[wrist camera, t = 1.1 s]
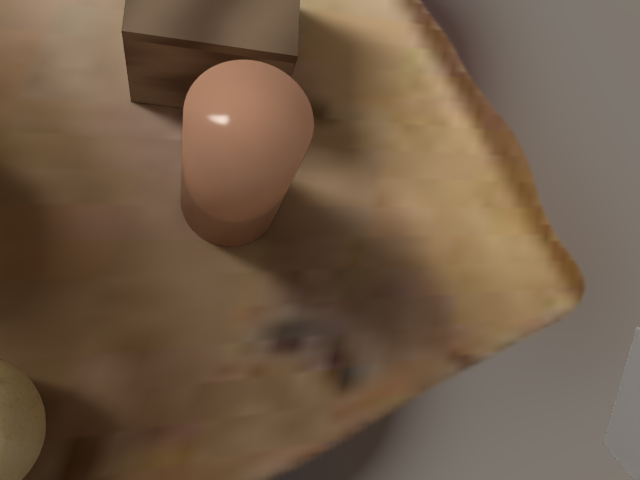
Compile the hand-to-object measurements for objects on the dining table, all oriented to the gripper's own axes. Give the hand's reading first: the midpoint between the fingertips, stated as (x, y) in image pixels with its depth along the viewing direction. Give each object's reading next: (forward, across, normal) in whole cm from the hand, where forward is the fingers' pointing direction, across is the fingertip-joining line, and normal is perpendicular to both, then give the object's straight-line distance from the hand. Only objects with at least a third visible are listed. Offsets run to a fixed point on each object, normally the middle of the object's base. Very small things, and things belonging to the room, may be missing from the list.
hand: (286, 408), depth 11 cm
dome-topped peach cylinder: (+30, 0, -7) cm, 31 cm away
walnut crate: (+38, -1, +2) cm, 38 cm away
